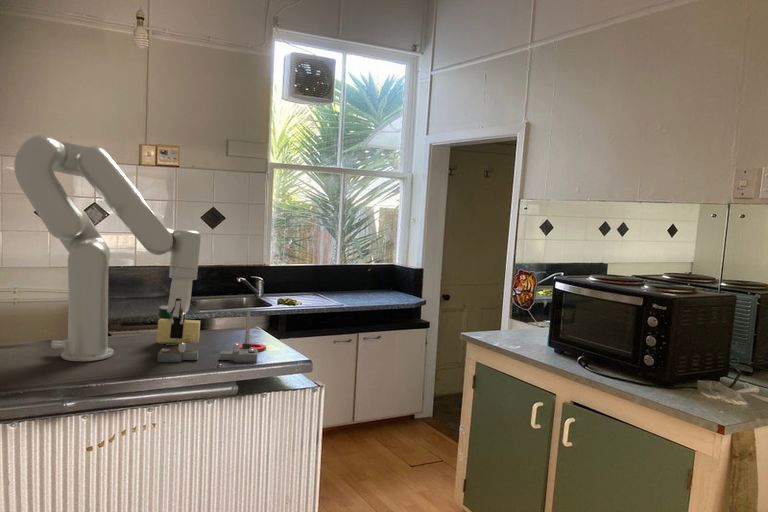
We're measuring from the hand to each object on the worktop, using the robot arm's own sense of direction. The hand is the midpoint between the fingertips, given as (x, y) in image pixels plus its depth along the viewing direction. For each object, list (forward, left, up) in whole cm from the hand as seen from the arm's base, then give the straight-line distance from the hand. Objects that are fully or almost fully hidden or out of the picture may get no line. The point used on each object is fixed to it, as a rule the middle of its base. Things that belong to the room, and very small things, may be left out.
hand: (177, 335), depth 166 cm
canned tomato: (-3, +12, -5) cm, 14 cm away
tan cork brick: (0, 0, -2) cm, 2 cm away
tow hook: (+21, +4, -5) cm, 22 cm away
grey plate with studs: (+10, -8, -5) cm, 13 cm away
